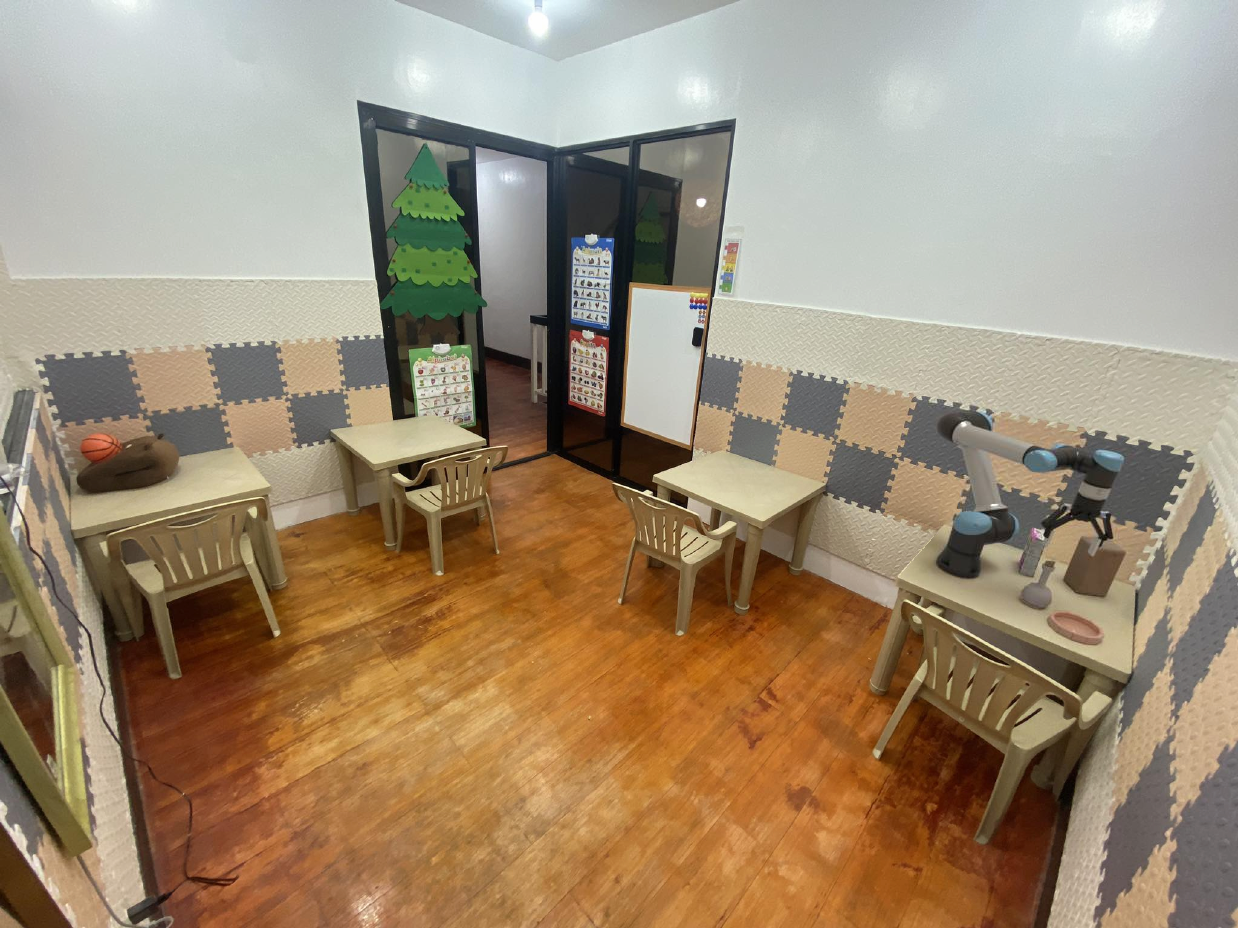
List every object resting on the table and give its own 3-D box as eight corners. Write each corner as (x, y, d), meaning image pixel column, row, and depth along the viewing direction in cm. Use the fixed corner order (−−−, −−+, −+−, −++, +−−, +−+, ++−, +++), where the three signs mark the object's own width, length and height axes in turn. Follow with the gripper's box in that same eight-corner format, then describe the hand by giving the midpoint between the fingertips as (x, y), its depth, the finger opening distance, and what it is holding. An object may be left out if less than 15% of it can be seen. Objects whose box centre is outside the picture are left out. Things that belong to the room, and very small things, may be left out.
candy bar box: (1018, 561, 217) (1031, 526, 211) (1033, 566, 214) (1047, 530, 208) (1017, 573, 208) (1031, 537, 202) (1033, 577, 206) (1047, 541, 200)
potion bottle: (1039, 612, 184) (1057, 569, 178) (1013, 598, 192) (1030, 556, 185) (1054, 607, 188) (1072, 564, 181) (1028, 593, 195) (1044, 552, 188)
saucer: (1051, 633, 174) (1054, 627, 173) (1045, 611, 185) (1047, 605, 184) (1105, 650, 167) (1108, 643, 166) (1095, 626, 178) (1098, 620, 178)
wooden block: (1106, 597, 195) (1128, 551, 188) (1076, 593, 197) (1097, 547, 189) (1089, 583, 204) (1110, 538, 197) (1061, 579, 206) (1080, 534, 199)
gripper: (1052, 493, 176) (1030, 547, 184) (1143, 507, 169) (1115, 563, 177) (1044, 484, 182) (1022, 537, 190) (1130, 498, 175) (1104, 552, 183)
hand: (1067, 549), depth 184 cm, fingers open, 13 cm apart
